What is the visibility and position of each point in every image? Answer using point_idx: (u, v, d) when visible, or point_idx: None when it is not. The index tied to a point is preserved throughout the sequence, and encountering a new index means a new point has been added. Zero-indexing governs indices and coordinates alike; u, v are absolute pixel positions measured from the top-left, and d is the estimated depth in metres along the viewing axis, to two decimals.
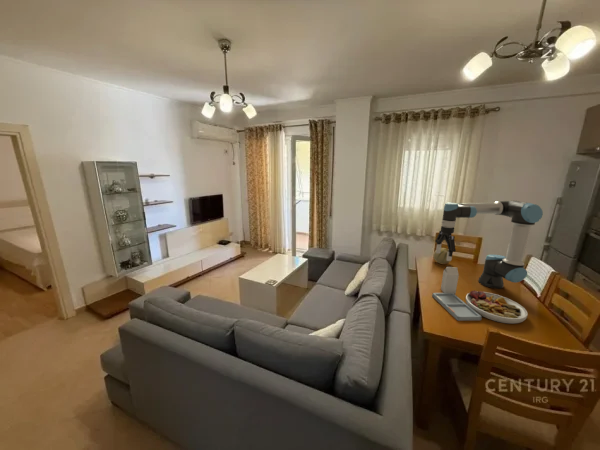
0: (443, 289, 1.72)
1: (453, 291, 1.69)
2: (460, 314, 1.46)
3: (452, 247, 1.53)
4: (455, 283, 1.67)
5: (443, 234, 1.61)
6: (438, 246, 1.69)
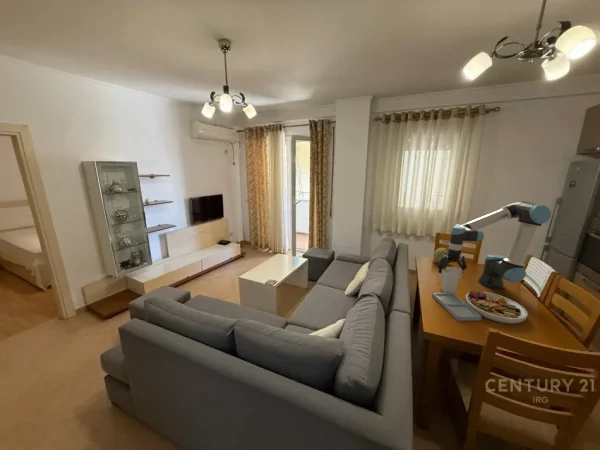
0: (443, 289, 1.72)
1: (453, 291, 1.69)
2: (460, 314, 1.46)
3: (438, 264, 1.68)
4: (455, 283, 1.67)
5: None
6: (459, 270, 1.70)
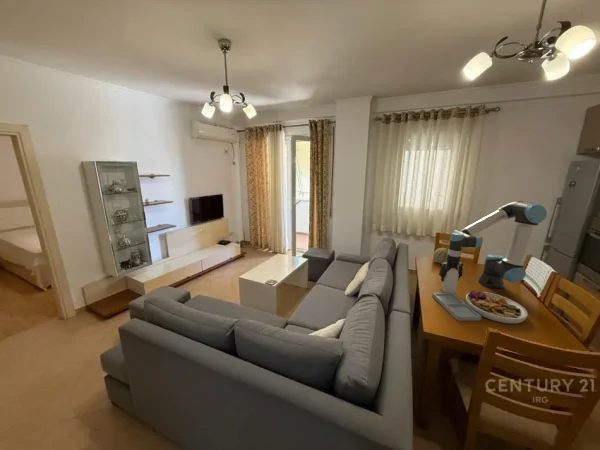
0: (443, 289, 1.72)
1: (453, 291, 1.69)
2: (460, 314, 1.46)
3: (440, 272, 1.70)
4: (455, 283, 1.67)
5: None
6: None
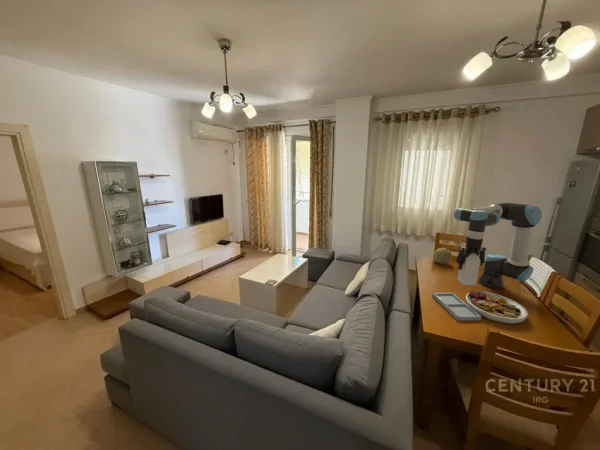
0: (461, 279, 1.43)
1: (473, 281, 1.40)
2: (460, 314, 1.46)
3: (457, 258, 1.41)
4: (476, 271, 1.38)
5: None
6: None
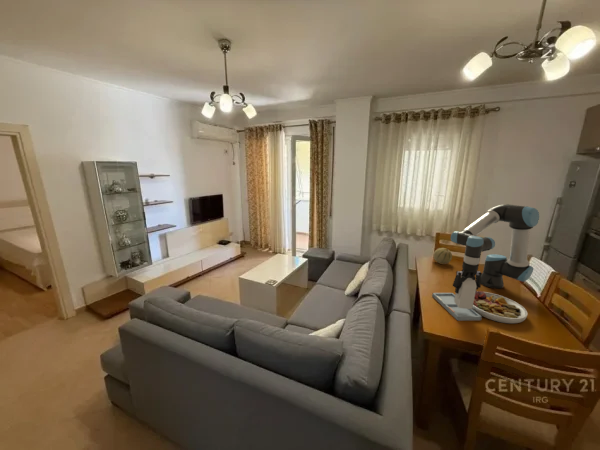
0: (457, 302, 1.46)
1: (470, 305, 1.43)
2: (460, 314, 1.46)
3: (454, 282, 1.44)
4: (472, 296, 1.41)
5: None
6: None
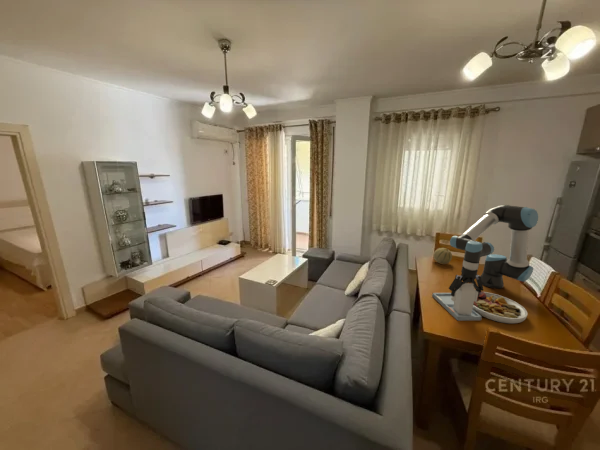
0: (457, 309, 1.47)
1: (469, 311, 1.44)
2: (460, 314, 1.46)
3: (451, 285, 1.44)
4: (471, 302, 1.42)
5: None
6: None
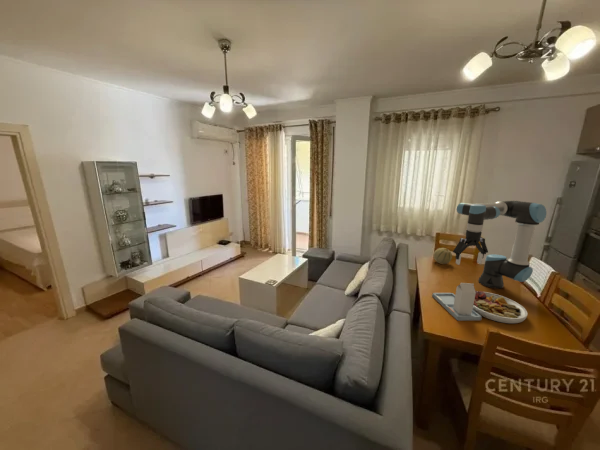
0: (457, 309, 1.47)
1: (469, 311, 1.44)
2: (460, 314, 1.46)
3: (455, 248, 1.46)
4: (471, 302, 1.42)
5: None
6: (479, 255, 1.48)
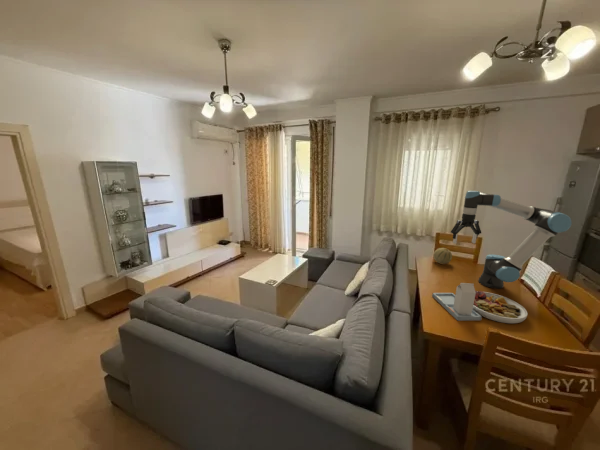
0: (457, 309, 1.47)
1: (469, 311, 1.44)
2: (460, 314, 1.46)
3: (452, 229, 1.69)
4: (471, 302, 1.42)
5: None
6: (473, 235, 1.70)
